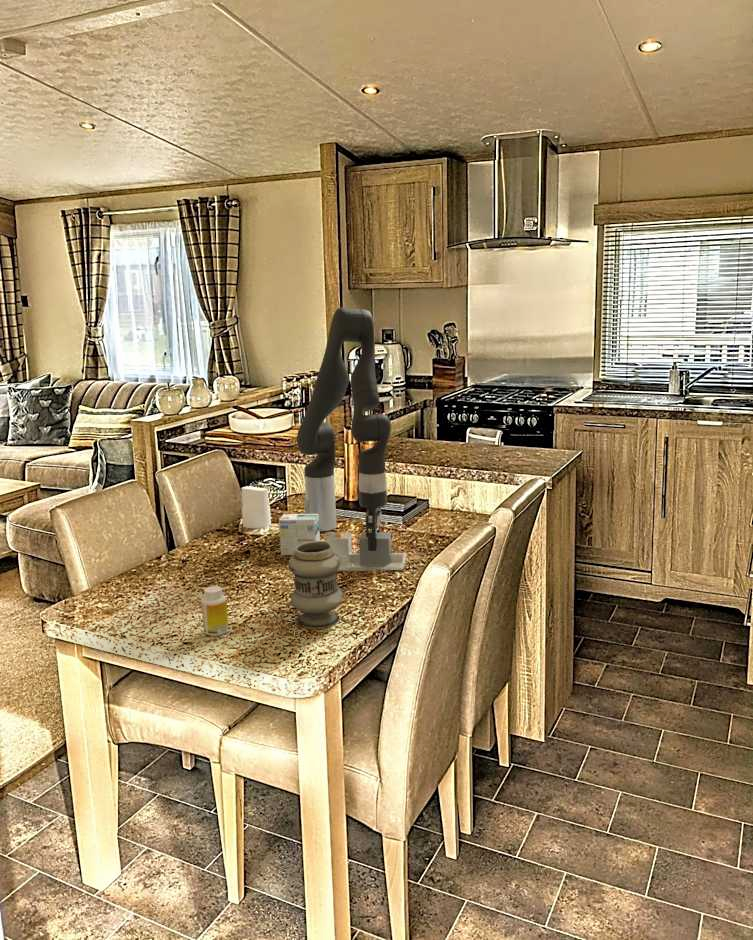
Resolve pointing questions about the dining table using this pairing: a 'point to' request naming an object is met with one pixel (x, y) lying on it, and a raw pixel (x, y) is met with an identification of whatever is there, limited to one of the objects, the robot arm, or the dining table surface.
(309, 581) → the apothecary jar
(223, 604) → the supplement bottle
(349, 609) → the dining table surface
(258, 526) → the upright white block
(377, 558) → the module
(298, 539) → the light bulb box
